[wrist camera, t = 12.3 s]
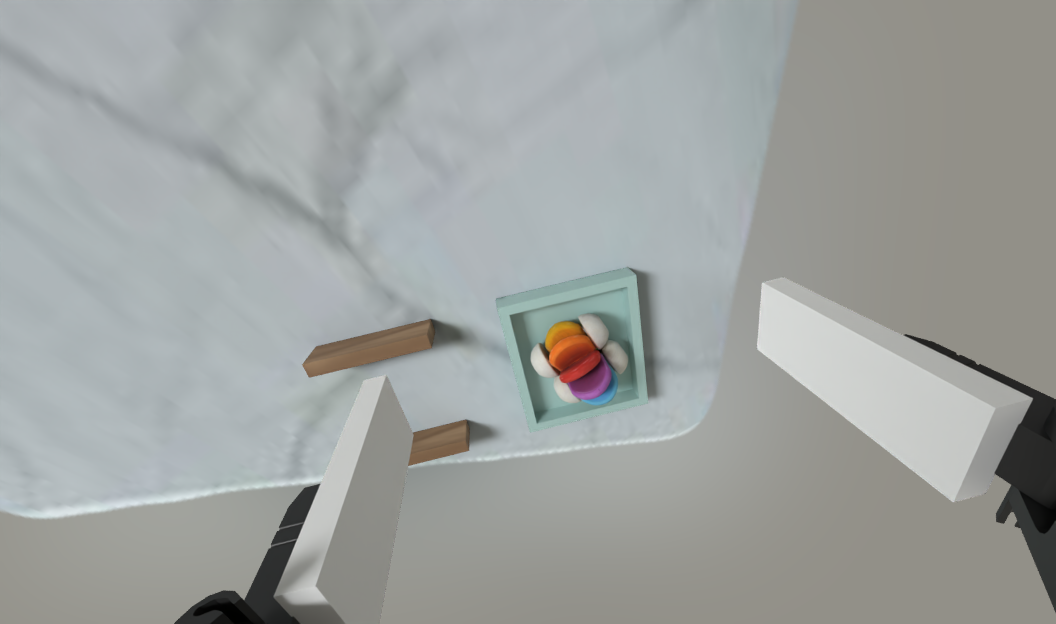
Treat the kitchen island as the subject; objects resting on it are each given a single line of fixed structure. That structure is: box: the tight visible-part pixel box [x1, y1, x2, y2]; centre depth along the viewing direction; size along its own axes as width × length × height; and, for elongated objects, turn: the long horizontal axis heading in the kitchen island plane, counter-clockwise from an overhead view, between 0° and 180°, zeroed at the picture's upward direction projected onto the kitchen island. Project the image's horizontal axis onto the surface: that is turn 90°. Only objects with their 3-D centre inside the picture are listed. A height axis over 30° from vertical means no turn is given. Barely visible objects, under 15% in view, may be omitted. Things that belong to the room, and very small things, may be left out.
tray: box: [496, 267, 648, 433], centre depth 42 cm, size 16×14×2 cm
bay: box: [302, 319, 470, 466], centre depth 41 cm, size 15×12×4 cm
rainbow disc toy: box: [531, 313, 628, 405], centre depth 40 cm, size 8×10×7 cm
